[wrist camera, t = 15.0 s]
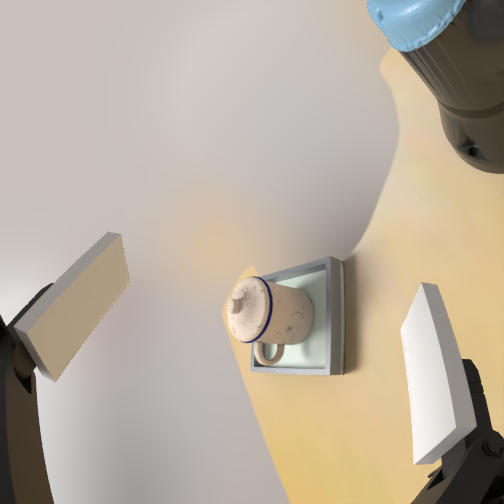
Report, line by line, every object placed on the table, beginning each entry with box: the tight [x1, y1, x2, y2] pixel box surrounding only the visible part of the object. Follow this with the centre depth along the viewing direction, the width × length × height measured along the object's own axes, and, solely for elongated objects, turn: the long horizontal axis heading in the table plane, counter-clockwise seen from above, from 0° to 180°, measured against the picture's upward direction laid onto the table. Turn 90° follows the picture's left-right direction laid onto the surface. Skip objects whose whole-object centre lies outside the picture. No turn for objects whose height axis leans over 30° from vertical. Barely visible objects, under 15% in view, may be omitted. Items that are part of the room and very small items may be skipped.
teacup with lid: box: [227, 277, 314, 365], centre depth 44 cm, size 12×9×12 cm
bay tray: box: [250, 257, 345, 375], centre depth 47 cm, size 16×16×3 cm
